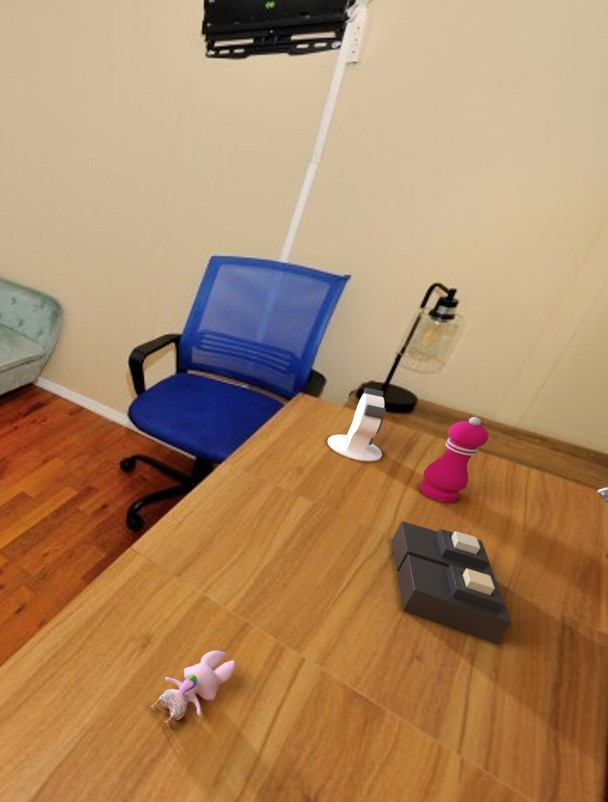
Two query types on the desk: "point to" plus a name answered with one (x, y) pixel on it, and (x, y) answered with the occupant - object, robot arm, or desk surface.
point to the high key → (478, 581)
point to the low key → (465, 542)
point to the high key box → (451, 599)
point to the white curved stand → (362, 429)
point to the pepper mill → (454, 461)
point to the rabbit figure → (196, 684)
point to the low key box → (436, 549)
